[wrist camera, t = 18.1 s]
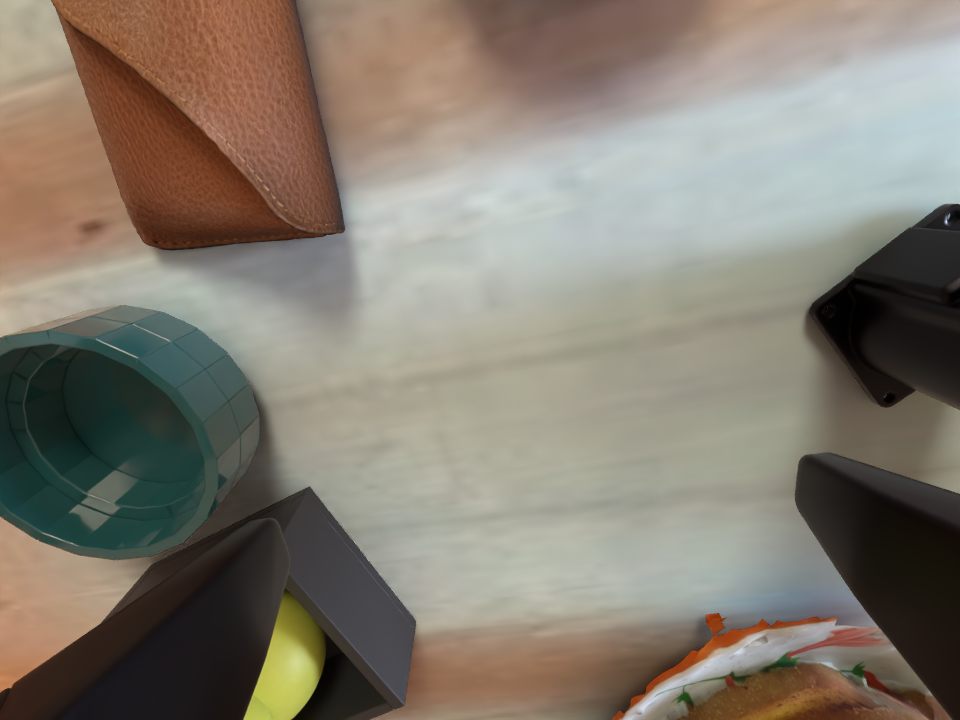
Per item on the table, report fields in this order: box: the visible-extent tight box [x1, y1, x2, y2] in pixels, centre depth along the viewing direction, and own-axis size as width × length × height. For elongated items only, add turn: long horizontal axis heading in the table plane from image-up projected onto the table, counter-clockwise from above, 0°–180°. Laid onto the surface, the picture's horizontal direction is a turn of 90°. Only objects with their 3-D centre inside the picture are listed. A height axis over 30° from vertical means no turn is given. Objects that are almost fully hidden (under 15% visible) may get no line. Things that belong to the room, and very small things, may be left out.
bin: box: [102, 487, 416, 720], centre depth 23 cm, size 10×10×5 cm
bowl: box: [0, 305, 260, 560], centre depth 19 cm, size 10×10×4 cm
